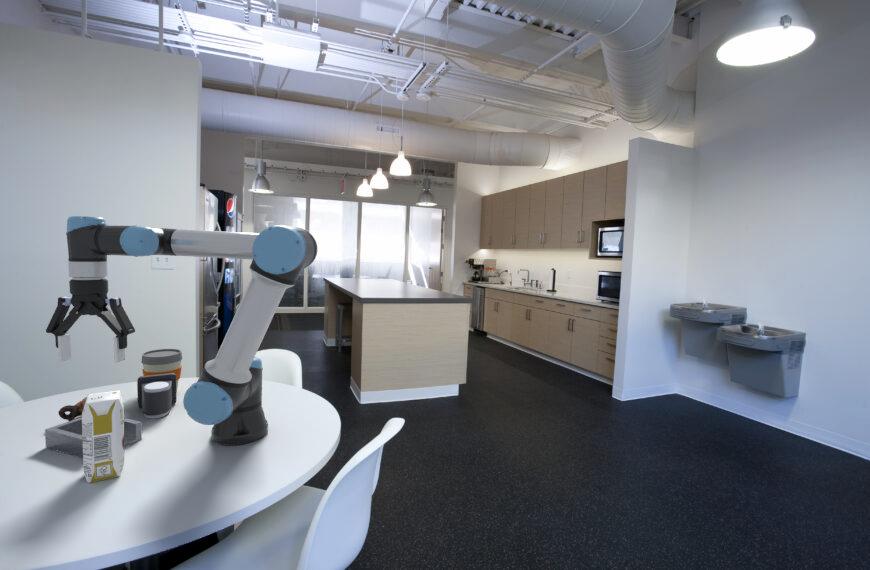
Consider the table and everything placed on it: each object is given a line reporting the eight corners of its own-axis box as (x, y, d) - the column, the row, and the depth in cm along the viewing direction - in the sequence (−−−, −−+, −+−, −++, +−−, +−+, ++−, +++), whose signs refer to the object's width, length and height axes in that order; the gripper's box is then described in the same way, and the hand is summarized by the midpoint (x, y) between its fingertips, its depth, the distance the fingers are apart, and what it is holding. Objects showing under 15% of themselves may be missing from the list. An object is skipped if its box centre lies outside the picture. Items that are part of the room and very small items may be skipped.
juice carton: (82, 486, 94) (80, 405, 93) (86, 469, 101) (83, 393, 100) (124, 477, 99) (122, 399, 97) (125, 461, 106) (123, 388, 104)
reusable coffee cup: (179, 385, 162) (179, 347, 161) (185, 394, 152) (185, 354, 151) (140, 391, 154) (139, 351, 153) (143, 401, 144) (142, 359, 143)
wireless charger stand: (135, 423, 128) (134, 390, 127) (138, 406, 139) (137, 375, 138) (177, 417, 134) (176, 385, 133) (176, 401, 145) (176, 371, 144)
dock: (141, 439, 117) (141, 422, 117) (90, 460, 105) (90, 441, 105) (98, 428, 123) (98, 411, 122) (45, 447, 111) (45, 429, 110)
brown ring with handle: (97, 413, 135) (109, 392, 134) (105, 433, 130) (117, 412, 129) (50, 415, 125) (62, 393, 124) (56, 437, 120) (69, 414, 119)
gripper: (149, 278, 109) (151, 357, 111) (50, 276, 108) (55, 356, 110) (129, 280, 102) (132, 365, 104) (23, 278, 101) (28, 363, 103)
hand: (92, 360), depth 107 cm, fingers open, 13 cm apart
